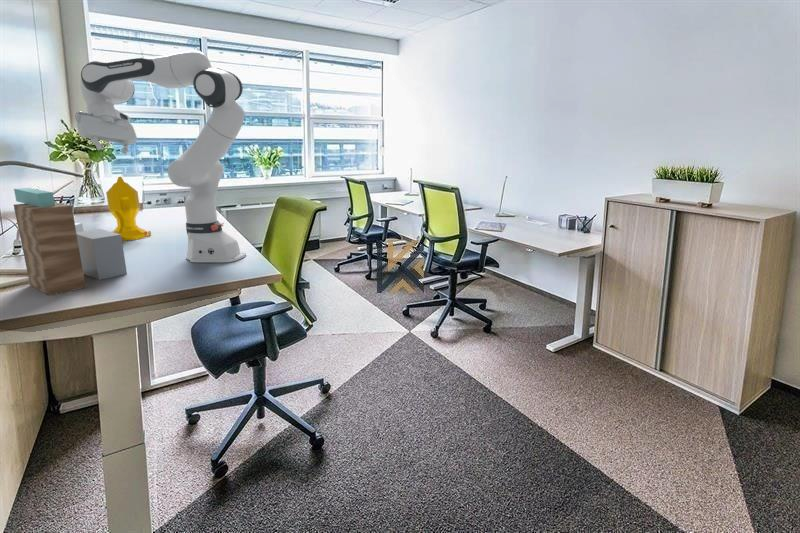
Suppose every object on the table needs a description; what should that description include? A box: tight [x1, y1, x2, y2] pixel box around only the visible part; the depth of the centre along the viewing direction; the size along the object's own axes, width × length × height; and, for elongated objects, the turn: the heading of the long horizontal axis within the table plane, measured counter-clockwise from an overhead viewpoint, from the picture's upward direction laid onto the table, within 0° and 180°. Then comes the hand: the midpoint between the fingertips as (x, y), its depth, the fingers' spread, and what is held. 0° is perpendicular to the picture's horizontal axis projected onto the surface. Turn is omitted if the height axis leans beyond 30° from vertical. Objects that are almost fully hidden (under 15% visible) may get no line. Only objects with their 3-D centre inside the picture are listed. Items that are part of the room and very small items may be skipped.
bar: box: [13, 187, 56, 207], centre depth 150 cm, size 20×4×4 cm, turn 54°
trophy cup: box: [105, 176, 152, 242], centre depth 223 cm, size 18×24×28 cm
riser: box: [76, 228, 128, 281], centre depth 167 cm, size 16×9×14 cm, turn 54°
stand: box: [13, 201, 87, 296], centre depth 150 cm, size 16×10×26 cm, turn 54°
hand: (113, 151), depth 176 cm, fingers open, 8 cm apart
